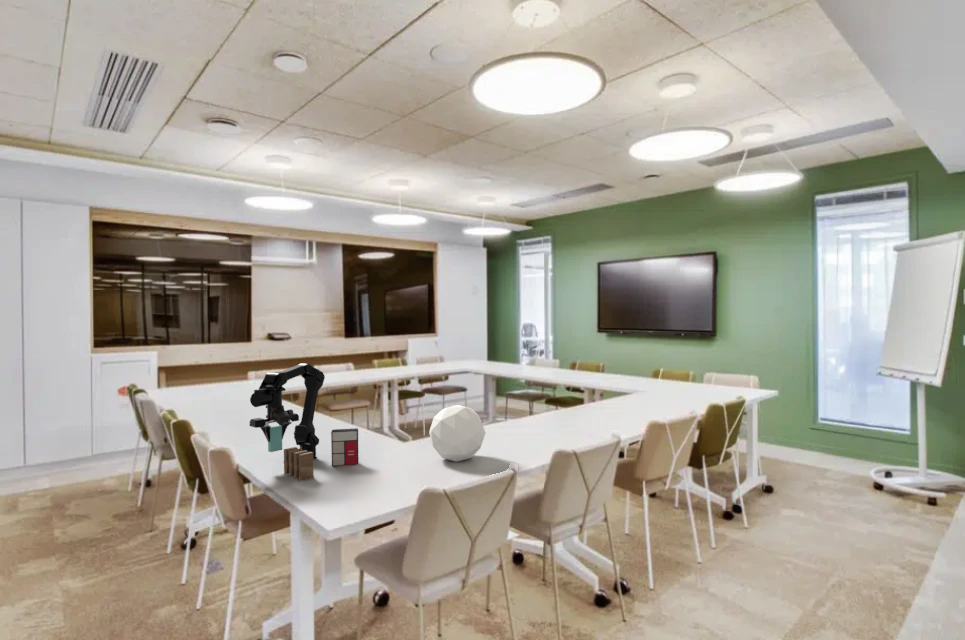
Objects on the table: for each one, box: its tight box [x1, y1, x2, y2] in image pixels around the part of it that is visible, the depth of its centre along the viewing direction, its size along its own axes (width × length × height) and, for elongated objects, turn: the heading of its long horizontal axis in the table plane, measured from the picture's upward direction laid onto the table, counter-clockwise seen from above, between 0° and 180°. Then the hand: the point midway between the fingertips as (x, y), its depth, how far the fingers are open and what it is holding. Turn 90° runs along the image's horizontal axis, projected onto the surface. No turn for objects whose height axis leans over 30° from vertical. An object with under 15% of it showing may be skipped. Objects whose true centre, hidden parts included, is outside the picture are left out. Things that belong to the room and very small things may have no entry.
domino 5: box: [298, 452, 314, 481], centre depth 208 cm, size 2×5×10 cm, turn 138°
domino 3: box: [288, 448, 303, 477], centre depth 213 cm, size 2×5×10 cm, turn 138°
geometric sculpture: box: [428, 404, 486, 463], centre depth 233 cm, size 24×25×25 cm
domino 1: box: [267, 424, 283, 453], centre depth 218 cm, size 2×5×10 cm, turn 138°
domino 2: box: [283, 446, 299, 475], centre depth 216 cm, size 2×5×10 cm, turn 138°
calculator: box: [330, 427, 360, 467], centre depth 226 cm, size 11×4×15 cm, turn 101°
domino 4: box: [293, 450, 308, 479], centre depth 210 cm, size 2×5×10 cm, turn 138°
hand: (275, 440), depth 218 cm, fingers closed on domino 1, 5 cm apart
